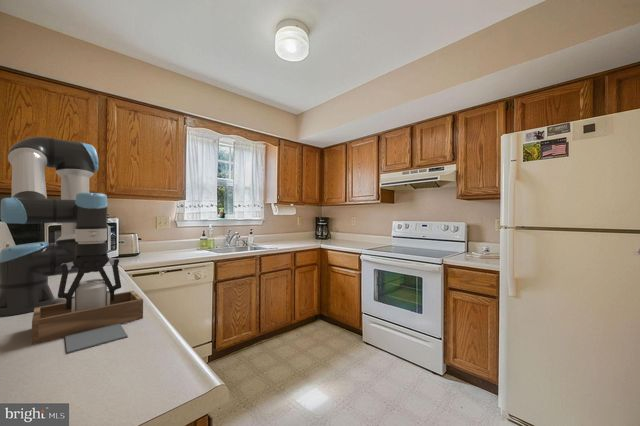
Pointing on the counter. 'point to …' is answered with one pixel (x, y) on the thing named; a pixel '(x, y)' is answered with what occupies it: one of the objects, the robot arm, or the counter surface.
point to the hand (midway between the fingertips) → (91, 315)
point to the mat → (94, 337)
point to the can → (90, 294)
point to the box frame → (84, 317)
